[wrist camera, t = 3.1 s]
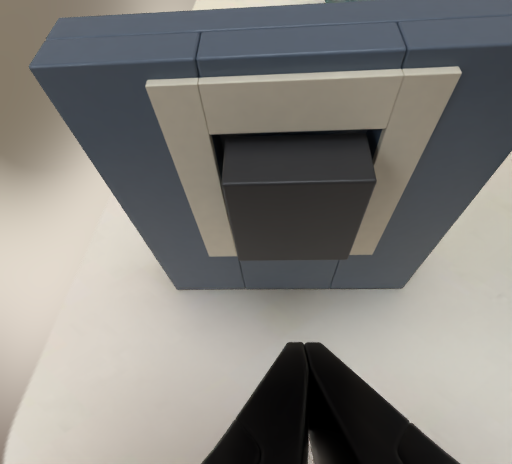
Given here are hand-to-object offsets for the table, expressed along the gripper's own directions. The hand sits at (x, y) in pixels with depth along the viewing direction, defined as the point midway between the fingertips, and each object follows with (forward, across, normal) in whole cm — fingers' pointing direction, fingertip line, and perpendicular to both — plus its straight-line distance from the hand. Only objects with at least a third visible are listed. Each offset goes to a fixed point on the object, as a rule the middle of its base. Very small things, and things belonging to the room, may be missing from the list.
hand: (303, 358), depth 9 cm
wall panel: (+13, 0, +2) cm, 13 cm away
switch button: (+6, 0, -2) cm, 6 cm away
